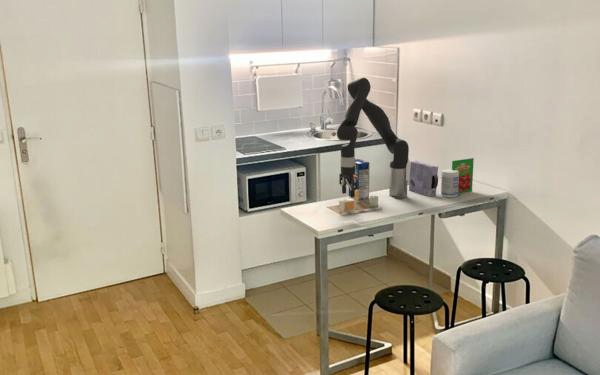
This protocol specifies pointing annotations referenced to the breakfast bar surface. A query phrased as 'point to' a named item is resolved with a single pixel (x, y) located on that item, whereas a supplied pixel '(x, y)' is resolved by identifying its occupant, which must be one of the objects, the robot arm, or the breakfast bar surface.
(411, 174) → the cake pan box
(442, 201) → the breakfast bar surface
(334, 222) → the breakfast bar surface
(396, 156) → the robot arm
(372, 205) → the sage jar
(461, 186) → the tomato puree packet
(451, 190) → the supplement tub
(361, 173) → the beverage box
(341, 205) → the cream block
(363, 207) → the board
